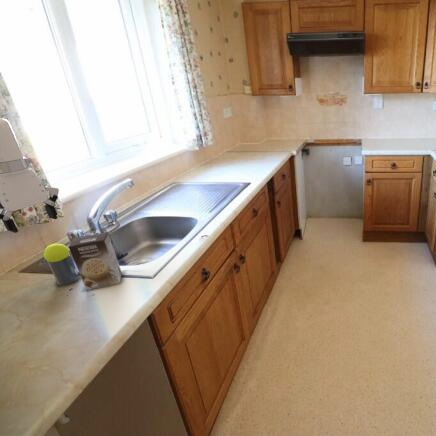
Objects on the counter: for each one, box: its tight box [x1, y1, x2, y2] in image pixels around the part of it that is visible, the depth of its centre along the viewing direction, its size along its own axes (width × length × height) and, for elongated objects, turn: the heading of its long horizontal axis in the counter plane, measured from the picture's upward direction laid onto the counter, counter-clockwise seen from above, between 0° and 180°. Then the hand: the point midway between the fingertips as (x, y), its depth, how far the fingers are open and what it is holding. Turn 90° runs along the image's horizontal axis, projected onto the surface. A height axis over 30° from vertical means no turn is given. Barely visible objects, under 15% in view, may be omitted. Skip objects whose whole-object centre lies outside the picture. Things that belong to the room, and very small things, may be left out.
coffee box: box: [68, 231, 123, 291], centre depth 98 cm, size 9×6×16 cm
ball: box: [43, 242, 70, 263], centre depth 99 cm, size 6×6×6 cm
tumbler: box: [46, 253, 81, 287], centre depth 101 cm, size 6×6×9 cm
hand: (34, 224), depth 93 cm, fingers open, 9 cm apart
